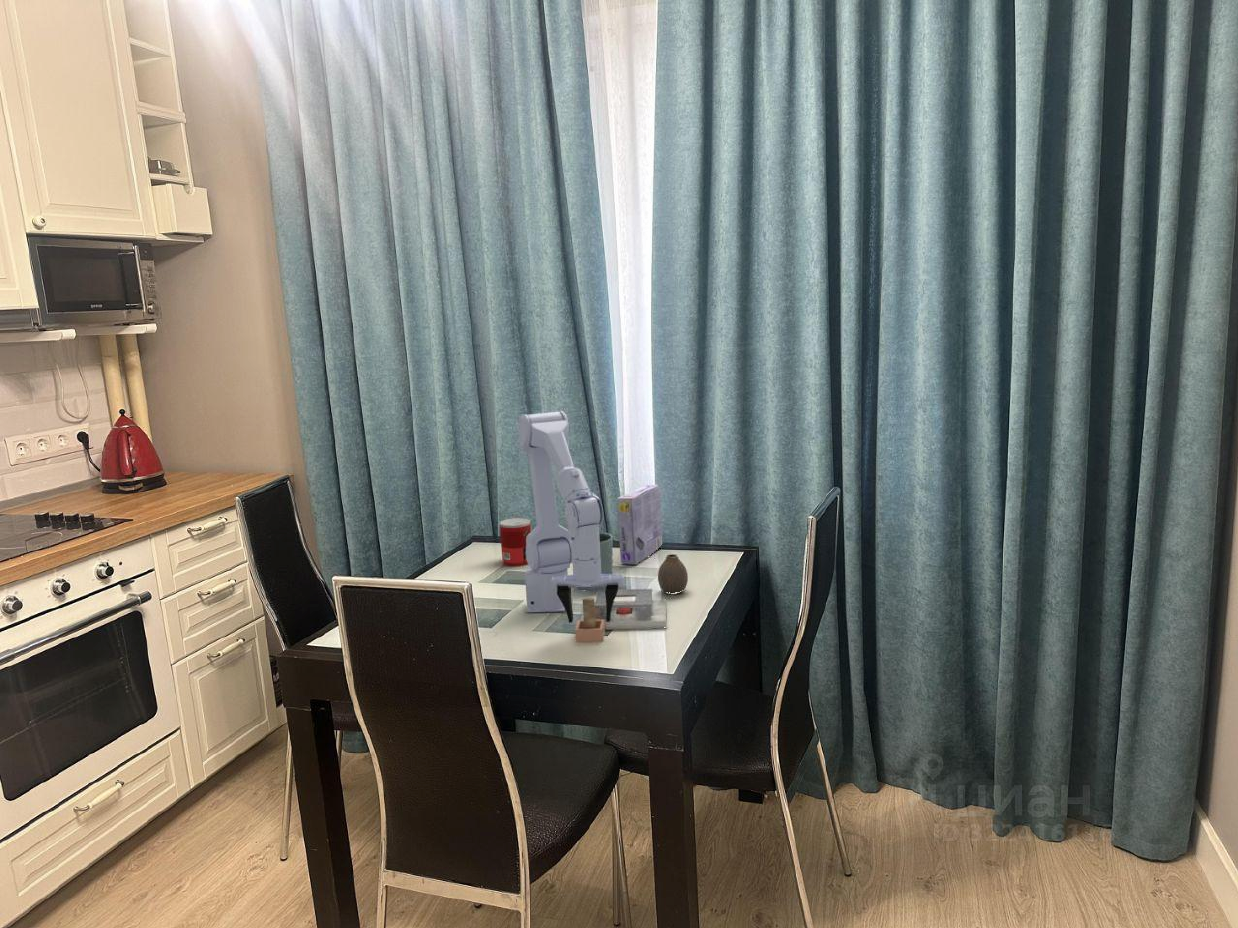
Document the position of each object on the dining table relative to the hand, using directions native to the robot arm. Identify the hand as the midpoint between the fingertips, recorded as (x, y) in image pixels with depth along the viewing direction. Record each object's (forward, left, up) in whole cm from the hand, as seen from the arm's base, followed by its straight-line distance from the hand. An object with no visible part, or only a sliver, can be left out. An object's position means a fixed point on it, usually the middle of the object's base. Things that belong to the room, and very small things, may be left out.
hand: (589, 620), depth 186 cm
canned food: (-24, +54, -4) cm, 59 cm away
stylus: (0, 0, -3) cm, 3 cm away
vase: (+17, +26, -4) cm, 32 cm away
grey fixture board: (+6, +10, -3) cm, 12 cm away
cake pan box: (+9, +56, -4) cm, 57 cm away
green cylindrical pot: (-2, +32, -4) cm, 33 cm away
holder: (0, 0, -3) cm, 3 cm away
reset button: (+6, +10, -3) cm, 12 cm away
